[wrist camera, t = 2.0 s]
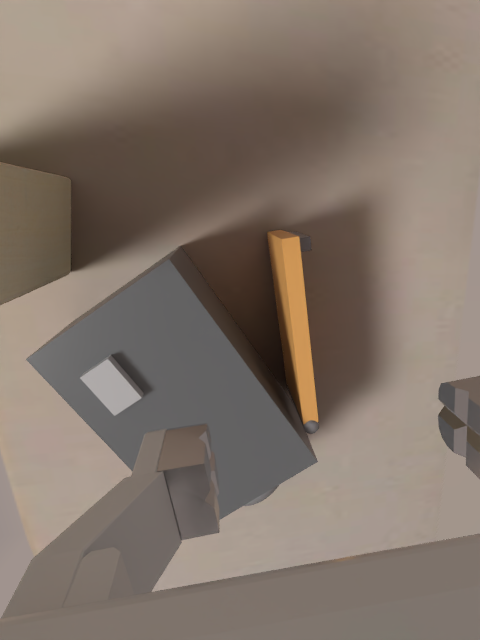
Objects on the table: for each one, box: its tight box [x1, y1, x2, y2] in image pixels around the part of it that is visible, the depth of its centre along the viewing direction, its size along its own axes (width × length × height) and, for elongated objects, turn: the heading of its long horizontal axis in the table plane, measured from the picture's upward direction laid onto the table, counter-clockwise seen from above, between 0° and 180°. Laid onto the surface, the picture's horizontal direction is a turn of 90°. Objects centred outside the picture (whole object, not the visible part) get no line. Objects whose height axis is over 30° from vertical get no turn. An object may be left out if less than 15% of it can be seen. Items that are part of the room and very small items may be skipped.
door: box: [267, 230, 319, 434], centre depth 25 cm, size 13×2×6 cm, turn 9°
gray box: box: [26, 246, 318, 520], centre depth 26 cm, size 18×10×8 cm, turn 34°
